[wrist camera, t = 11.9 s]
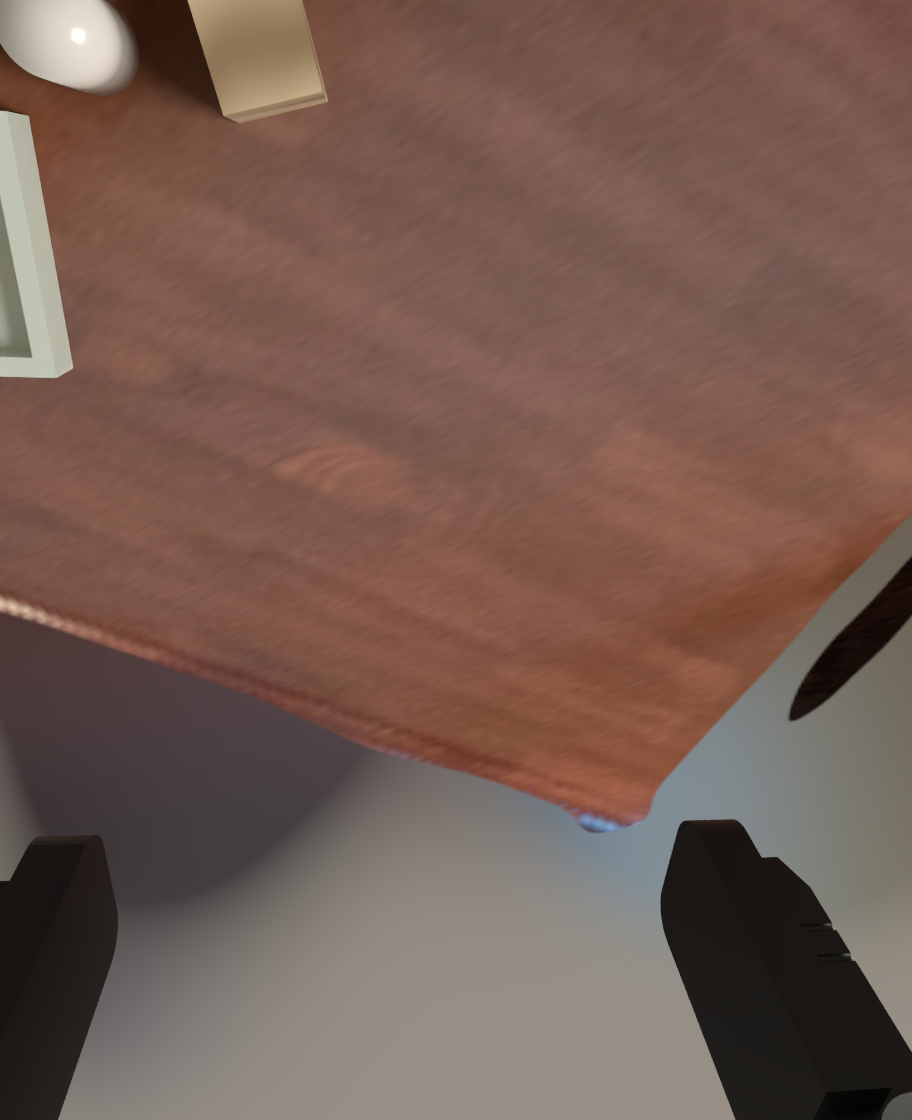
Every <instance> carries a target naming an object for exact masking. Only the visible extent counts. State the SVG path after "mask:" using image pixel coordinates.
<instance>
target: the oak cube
mask: <svg viewBox="0 0 912 1120" xmlns="http://www.w3.org/2000/svg"><path fill="white" fill-rule="evenodd" d="M188 3H189V6H190V9H191V13H192V16H193V19H194V22H195V25H196V29H197V32H198V35H199V38H200V42H201V45H202V48H203V51H204V55H205V58H206V61H207V64H208V68H209V71H210V74H211V77H212V80H213V84H214V87H215V90H216V93H217V97H218V100H219V103H220V106H221V110H222V113H223V116H225V117H227V118H229V119H231V120H233V121H235V122H238V123H244V122H248V121H252V120H256V119H260V118H264V117H268V116H272V115H277V114H281V113H285V112H289V111H293V110H297V109H301V108H305V107H310V106H314V105H318V104H322V103H326V102H328V100H327V96H326V92H325V88H324V84H323V80H322V76H321V72H320V68H319V64H318V60H317V56H316V52H315V48H314V44H313V40H312V36H311V32H310V28H309V24H308V20H307V16H306V12H305V8H304V4H303V0H188Z"/></svg>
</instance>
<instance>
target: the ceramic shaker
mask: <svg viewBox="0 0 912 1120" xmlns="http://www.w3.org/2000/svg"><path fill="white" fill-rule="evenodd" d="M0 44H1V45H2V47H3V49H4V50H5V51H6V53H7V54H8V55H9V56H10V57H11V58H12V59H13V61H15V62H16V63H17V64H18V65H19V66H20V67H22V68H23V69H24V70H26V71H27V72H29V73H31V74H33V75H35V76H37V77H40V78H43V79H46V80H49V81H52V82H55V83H58V84H61V85H64V86H67V87H70V88H73V89H76V90H79V91H82V92H85V93H88V94H91V95H94V96H100V97H108V96H113V95H116V94H119V93H121V92H123V91H124V90H125V89H126V88H128V86H129V85H130V84H131V83H132V81H133V80H134V78H135V76H136V74H137V70H138V66H139V47H138V42H137V38H136V35H135V33H134V30H133V28H132V26H131V24H130V23H129V21H128V20H127V18H126V17H125V16H124V15H123V13H122V12H121V11H120V10H119V9H118V8H117V7H116V6H114V5H113V4H112V3H110V2H109V1H108V0H0Z"/></svg>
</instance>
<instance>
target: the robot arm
mask: <svg viewBox="0 0 912 1120" xmlns="http://www.w3.org/2000/svg"><path fill="white" fill-rule="evenodd" d="M661 918H662V924H663V929H664V933H665V936H666V939H667V942H668V945H669V947H670V950H671V952H672V955H673V958H674V960H675V963H676V966H677V968H678V970H679V973H680V976H681V979H682V981H683V984H684V986H685V989H686V991H687V994H688V997H689V999H690V1002H691V1004H692V1007H693V1010H694V1012H695V1015H696V1018H697V1020H698V1022H699V1025H700V1028H701V1030H702V1033H703V1036H704V1038H705V1041H706V1044H707V1046H708V1049H709V1051H710V1054H711V1057H712V1059H713V1062H714V1065H715V1067H716V1070H717V1073H718V1075H719V1078H720V1080H721V1083H722V1086H723V1088H724V1090H725V1093H726V1096H727V1098H728V1101H729V1104H730V1106H731V1109H732V1112H733V1114H734V1117H735V1119H736V1120H912V1052H911V1050H910V1049H909V1047H908V1046H907V1044H906V1042H905V1041H904V1039H903V1038H902V1036H901V1034H900V1032H899V1031H898V1029H897V1028H896V1026H895V1024H894V1023H893V1021H892V1019H891V1018H890V1016H889V1015H888V1013H887V1011H886V1010H885V1008H884V1007H883V1005H882V1003H881V1002H880V1000H879V998H878V997H877V995H876V993H875V992H874V990H873V989H872V987H871V985H870V984H869V982H868V980H867V979H866V977H865V976H864V974H863V973H862V971H861V969H860V968H859V966H858V964H857V963H856V961H852V959H851V957H850V954H851V953H850V951H849V950H848V948H847V946H846V945H845V943H844V942H843V940H842V938H841V937H840V935H839V933H838V932H837V930H833V928H832V922H831V920H830V919H829V917H828V916H827V914H826V913H825V911H824V909H823V908H822V906H821V905H820V903H819V901H818V899H817V898H816V896H815V894H814V893H813V891H812V890H811V888H810V887H809V886H808V885H807V884H806V883H805V882H804V881H803V880H802V879H801V878H799V877H798V876H797V875H796V874H795V873H794V872H793V871H792V870H791V869H790V868H789V867H788V866H786V865H785V864H784V863H783V862H782V861H781V860H780V859H779V858H778V857H768V858H761V856H760V854H759V852H758V851H757V849H756V847H755V845H754V844H753V842H752V840H751V838H750V837H749V835H748V833H747V831H746V830H745V828H744V827H743V826H742V824H741V823H739V822H738V821H737V820H733V819H731V820H730V819H728V820H696V821H694V820H693V821H683V822H682V823H681V824H680V826H679V829H678V832H677V835H676V839H675V843H674V847H673V850H672V854H671V858H670V861H669V865H668V869H667V873H666V876H665V880H664V884H663V888H662V892H661ZM117 932H118V912H117V906H116V901H115V896H114V892H113V887H112V882H111V877H110V872H109V867H108V863H107V858H106V853H105V848H104V844H103V841H102V839H101V837H100V836H98V835H78V836H45V837H44V836H42V837H37V838H36V839H34V840H33V841H32V842H31V843H30V845H29V846H28V848H27V849H26V851H25V853H24V855H23V857H22V859H21V861H20V862H19V864H18V866H17V868H16V870H15V872H14V874H13V876H12V878H11V880H10V881H0V1120H58V1118H59V1115H60V1112H61V1109H62V1106H63V1103H64V1100H65V1098H66V1095H67V1092H68V1089H69V1086H70V1083H71V1080H72V1077H73V1074H74V1071H75V1068H76V1065H77V1063H78V1059H79V1057H80V1053H81V1051H82V1048H83V1045H84V1042H85V1039H86V1036H87V1033H88V1030H89V1027H90V1024H91V1021H92V1019H93V1016H94V1013H95V1010H96V1007H97V1004H98V1001H99V998H100V995H101V992H102V989H103V986H104V983H105V981H106V978H107V975H108V972H109V969H110V966H111V963H112V960H113V956H114V952H115V947H116V941H117Z"/></svg>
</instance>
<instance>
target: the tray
mask: <svg viewBox="0 0 912 1120" xmlns="http://www.w3.org/2000/svg"><path fill="white" fill-rule="evenodd" d="M71 369H73V364H72V358H71V352H70V347H69V341H68V335H67V330H66V324H65V319H64V313H63V307H62V302H61V296H60V290H59V285H58V279H57V273H56V268H55V262H54V257H53V251H52V245H51V240H50V234H49V228H48V223H47V217H46V211H45V206H44V200H43V195H42V189H41V183H40V178H39V172H38V166H37V161H36V155H35V149H34V144H33V138H32V133H31V127H30V121H29V116H26V115H22V114H17V113H12V112H7V111H0V376H4V377H42V378H57V377H59V376H61V375H62V374H64V373H66V372H67V371H69V370H71Z"/></svg>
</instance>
